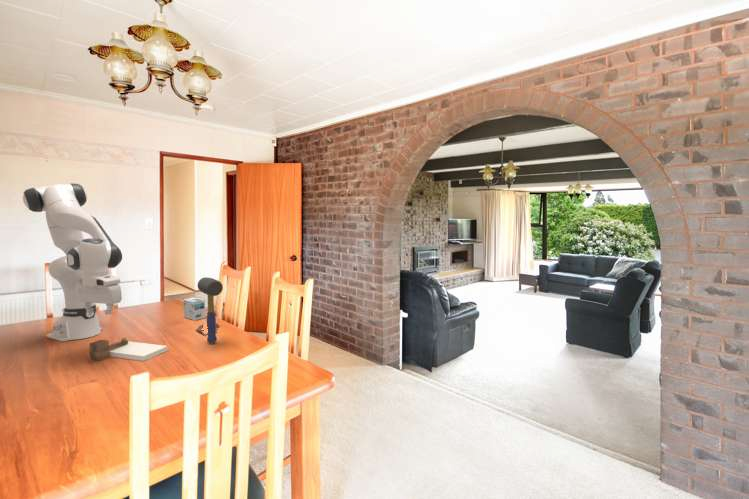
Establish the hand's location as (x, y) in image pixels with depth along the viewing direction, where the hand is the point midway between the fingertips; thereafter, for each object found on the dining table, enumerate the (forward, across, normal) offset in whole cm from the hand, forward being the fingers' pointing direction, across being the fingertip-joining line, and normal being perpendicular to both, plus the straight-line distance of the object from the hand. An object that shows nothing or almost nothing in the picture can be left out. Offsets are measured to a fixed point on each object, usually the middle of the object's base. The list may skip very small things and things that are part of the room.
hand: (99, 313), depth 150 cm
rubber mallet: (+20, +30, +27) cm, 45 cm away
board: (+19, +7, +8) cm, 22 cm away
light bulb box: (+19, -7, +59) cm, 63 cm away
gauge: (+19, -1, +4) cm, 19 cm away
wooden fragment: (+20, +13, +45) cm, 51 cm away
